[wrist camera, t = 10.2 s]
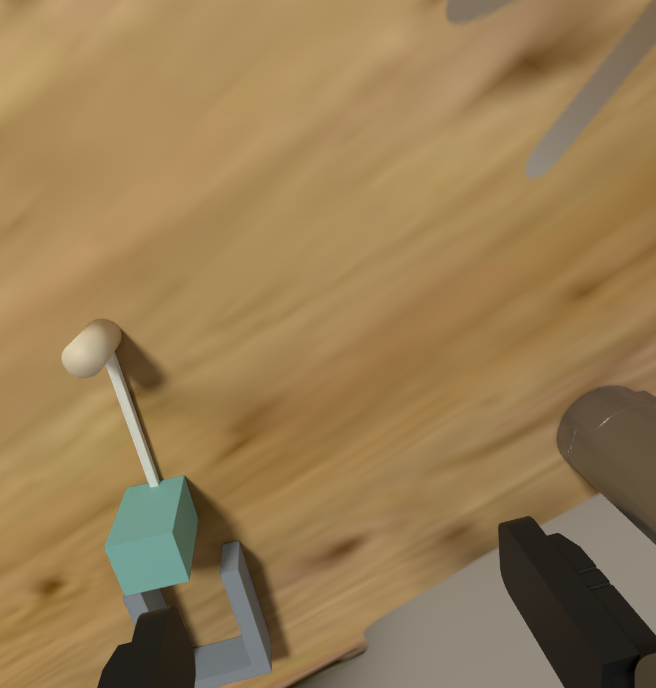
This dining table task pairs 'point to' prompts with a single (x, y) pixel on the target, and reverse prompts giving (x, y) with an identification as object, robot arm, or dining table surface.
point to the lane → (234, 654)
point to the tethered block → (143, 500)
